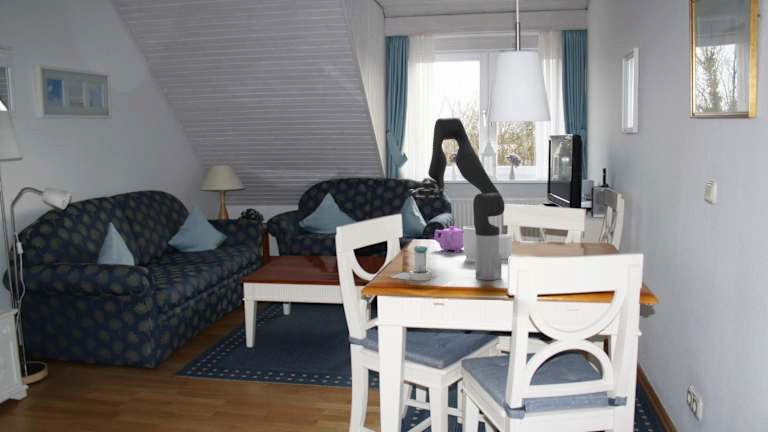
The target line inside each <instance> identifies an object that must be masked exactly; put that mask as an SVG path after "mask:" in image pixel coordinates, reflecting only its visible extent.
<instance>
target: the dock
mask: <svg viewBox="0 0 768 432" xmlns="http://www.w3.org/2000/svg"><path fill="white" fill-rule="evenodd" d="M414 271H415V269H413V270H410V271H409V272H405V271H403V272H400V273H398V274H394V275H392V276H390V278H392V279H393V278H395V279H401V280H409V281H416V282H423V283H425V282H428V281H430V280H433V279H435V278H436V279H437V278H438V276H436V275H433V272H432V271H431V270H430V269H426V273H414Z"/></svg>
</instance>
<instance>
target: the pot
mask: <svg viewBox="0 0 768 432" xmlns="http://www.w3.org/2000/svg"><path fill="white" fill-rule="evenodd" d="M463 233H464V230H462V229H461V228H457V227H455V225H450V226H448V228H444V229H435V231H434V237H433V240H434V241H436V242H437V243H438V244H439V248H440V249H441V250H442V252H444V253H447V252H448V251H449V250H452V251H453V250H454V251H453V252H454V253H460V251H462V249H464V247H463ZM439 234H440V237H439Z"/></svg>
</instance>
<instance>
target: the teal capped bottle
mask: <svg viewBox="0 0 768 432" xmlns="http://www.w3.org/2000/svg"><path fill="white" fill-rule="evenodd" d="M413 251H414V270H415V271H414V273H426V270H427V252H428V247H427V246H424V245H423V246H422V245H421V246H419V245H418V246H416V245H415V246H413Z"/></svg>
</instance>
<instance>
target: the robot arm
mask: <svg viewBox="0 0 768 432" xmlns="http://www.w3.org/2000/svg"><path fill="white" fill-rule="evenodd" d="M444 140H445V141H446V140H449V141H450V140H455V141H456V144H457V146H458V149H457V153H456V157H455V164H456V167H457V169H458V171H459V173H460V174H461V176H462V177H463V179H465V181H467V182H468V183H469V184H471V185H472V186H474V187H475V188H476V189H477V190H479V191H480V193H478V194H476V195H475V196H474V197H473V202H472V203H473V204H472V209H473V226H474V227H475V232H476V262H475V279H478V280H482V281H483V280H487V281H492V280H493V281H495V280H498V279H501V278H502V259H501V253H499V235H500V227H499V226H498V225H494V224H492V223H490V220H489V218H491V217H498V216H501V215H502V214H504V212H505V207H506V206H505V202H504V198H503V196H502V195H501V193H500V191H499V190H498V189H497V187H496V186H495V184H494V183H493V181H492V180H491V178H490V176H489V175H488V173H487V171H486V170H485V168H484V166H483V164H482V161H481V160H480V158H479V156H478V155H477V152H476V151H475V149H474V148H473V146H472V142H471V141H470V139H469V137H468V134H467V131H466V129H465V126H464V125H463V122H462V121H461V119H460V118H459V117H457V116H451V117H449V116H448V117H440V118H437V120H436V121H435V124H434V128H433V138H432V151H431V152H432V153H431V160H430V163H429V168H428V171H427V172H428V174H427V175H428V176H429V177H425V178H423V180H422V182H421V184H420V186H419V188H415V189H413V188H411V189H408V191H407V192H408V197H410V198H411V197H412V198H415V197H416V198H421V199H422V200H424V201H427V202H428V201H432V200H434V199H435V198H438V197H444V192H445V172H446V168H447V165H448V164H447V163H448V161H447V160H448V159H447V157H446V154H445V152H444V149H443V143H444Z"/></svg>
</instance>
